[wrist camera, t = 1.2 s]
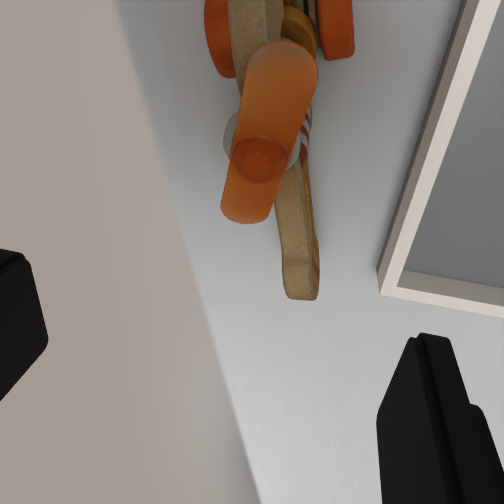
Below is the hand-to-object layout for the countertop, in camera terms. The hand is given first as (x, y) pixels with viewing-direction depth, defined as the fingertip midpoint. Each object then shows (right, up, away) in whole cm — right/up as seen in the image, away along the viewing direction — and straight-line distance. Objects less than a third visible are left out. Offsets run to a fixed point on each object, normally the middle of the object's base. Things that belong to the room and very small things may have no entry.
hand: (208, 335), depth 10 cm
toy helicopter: (+4, +12, +19) cm, 23 cm away
